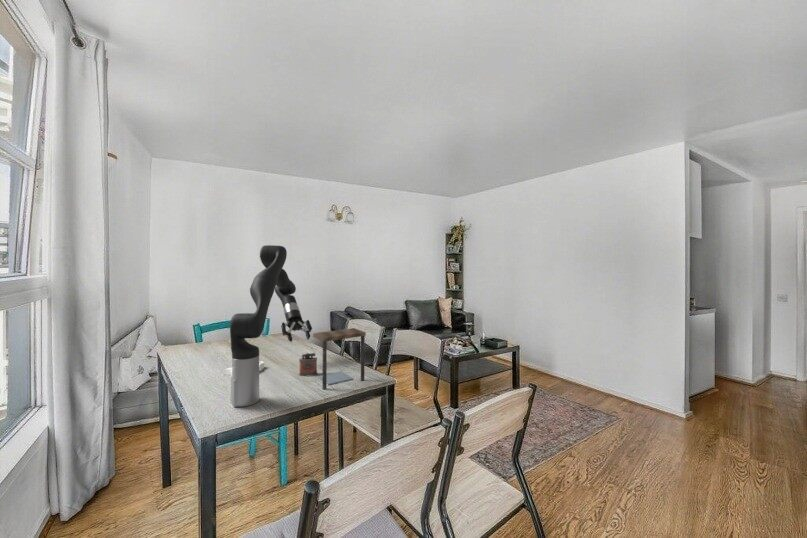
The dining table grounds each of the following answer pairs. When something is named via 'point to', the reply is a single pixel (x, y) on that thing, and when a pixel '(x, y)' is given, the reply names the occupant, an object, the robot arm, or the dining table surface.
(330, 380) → the pad
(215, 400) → the dining table surface
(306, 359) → the lighter
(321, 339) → the miniature side table
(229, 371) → the white brass knuckles
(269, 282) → the robot arm
